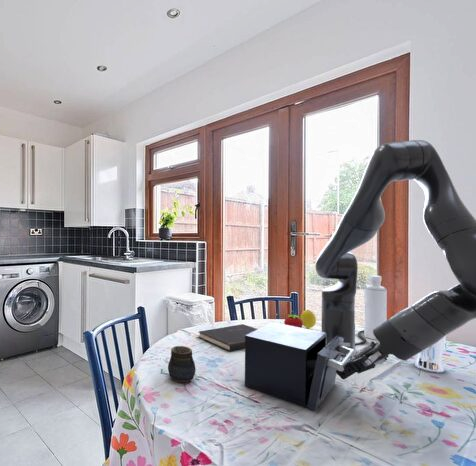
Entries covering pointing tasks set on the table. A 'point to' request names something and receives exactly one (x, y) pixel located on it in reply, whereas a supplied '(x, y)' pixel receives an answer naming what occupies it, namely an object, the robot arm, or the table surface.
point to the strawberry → (293, 321)
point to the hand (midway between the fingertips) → (339, 374)
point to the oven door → (328, 370)
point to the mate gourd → (181, 364)
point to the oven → (282, 361)
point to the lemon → (308, 319)
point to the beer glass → (432, 357)
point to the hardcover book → (227, 336)
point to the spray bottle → (374, 306)
